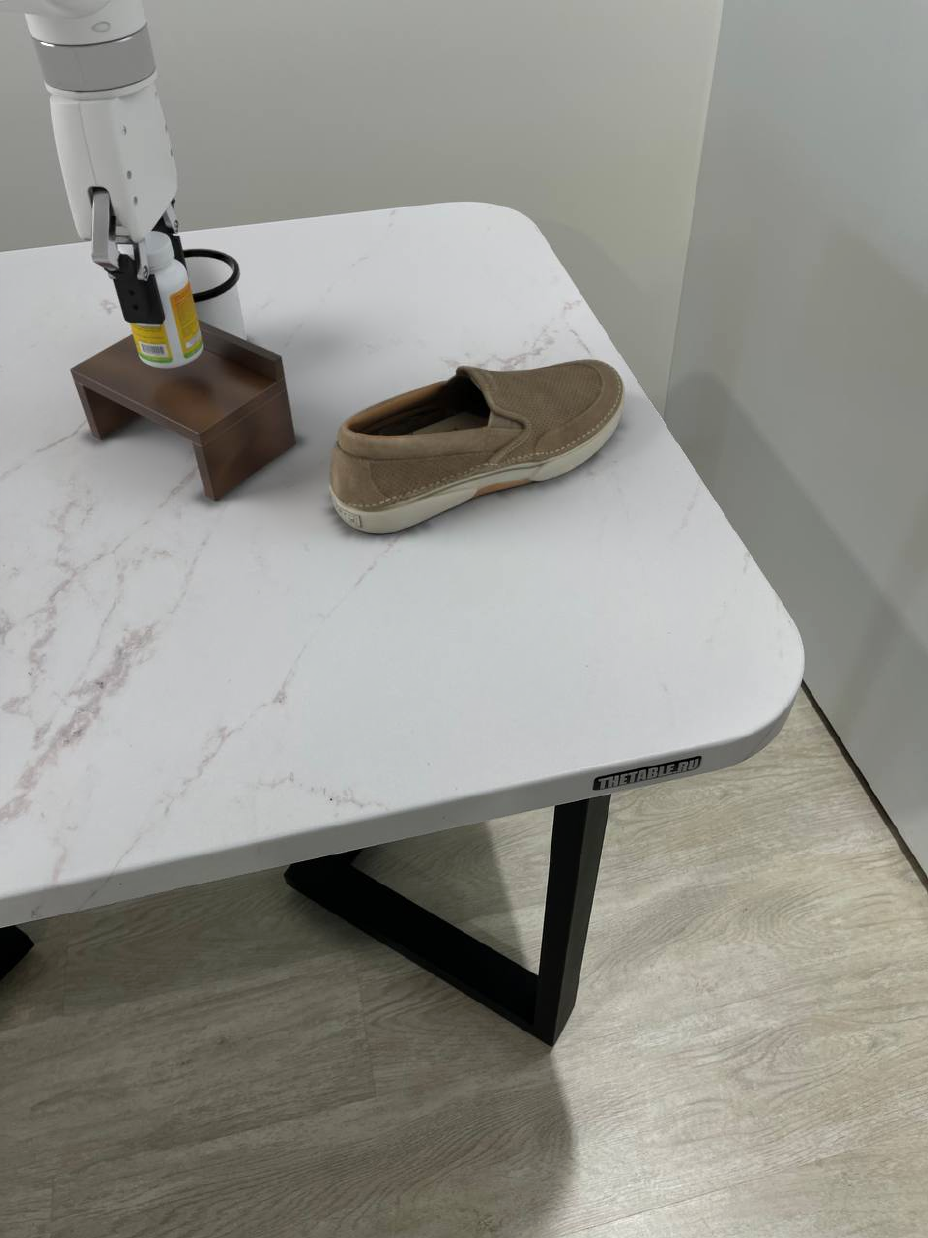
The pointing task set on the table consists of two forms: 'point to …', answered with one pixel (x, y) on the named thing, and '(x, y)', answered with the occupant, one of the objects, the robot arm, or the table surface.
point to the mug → (215, 289)
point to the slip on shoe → (469, 440)
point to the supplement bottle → (168, 309)
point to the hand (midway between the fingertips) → (157, 299)
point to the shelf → (197, 402)
